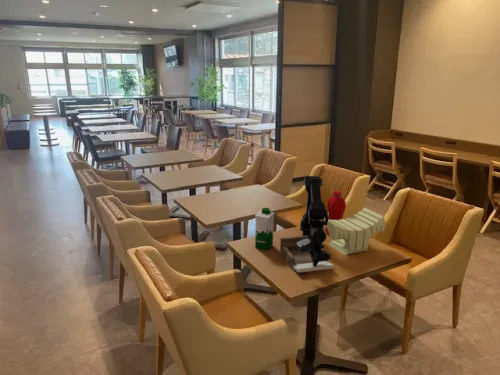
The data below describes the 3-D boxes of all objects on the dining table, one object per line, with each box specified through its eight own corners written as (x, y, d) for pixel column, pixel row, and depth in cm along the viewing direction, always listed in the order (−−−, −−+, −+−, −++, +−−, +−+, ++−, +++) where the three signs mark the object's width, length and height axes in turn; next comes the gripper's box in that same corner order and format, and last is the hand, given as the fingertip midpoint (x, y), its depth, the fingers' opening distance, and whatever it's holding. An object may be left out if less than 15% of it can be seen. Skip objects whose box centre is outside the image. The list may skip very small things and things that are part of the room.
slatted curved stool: (333, 260, 183) (336, 226, 178) (315, 247, 197) (317, 215, 192) (382, 249, 194) (386, 217, 189) (361, 238, 208) (364, 207, 203)
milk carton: (274, 244, 199) (275, 208, 194) (268, 251, 191) (269, 214, 186) (259, 241, 203) (259, 206, 197) (252, 248, 195) (253, 211, 189)
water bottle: (331, 239, 206) (334, 195, 199) (323, 231, 216) (325, 189, 209) (347, 237, 208) (350, 194, 201) (337, 230, 218) (341, 188, 211)
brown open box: (280, 252, 190) (280, 238, 188) (313, 249, 194) (314, 234, 192) (291, 268, 174) (292, 252, 172) (327, 264, 178) (328, 248, 176)
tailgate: (292, 264, 174) (298, 269, 167) (327, 261, 177) (333, 265, 171) (292, 268, 174) (298, 272, 167) (327, 264, 178) (333, 268, 171)
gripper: (291, 227, 173) (290, 259, 177) (306, 244, 156) (305, 278, 160) (314, 225, 176) (312, 256, 180) (332, 241, 158) (329, 275, 162)
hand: (314, 266), depth 170 cm, fingers closed, pressing on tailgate
